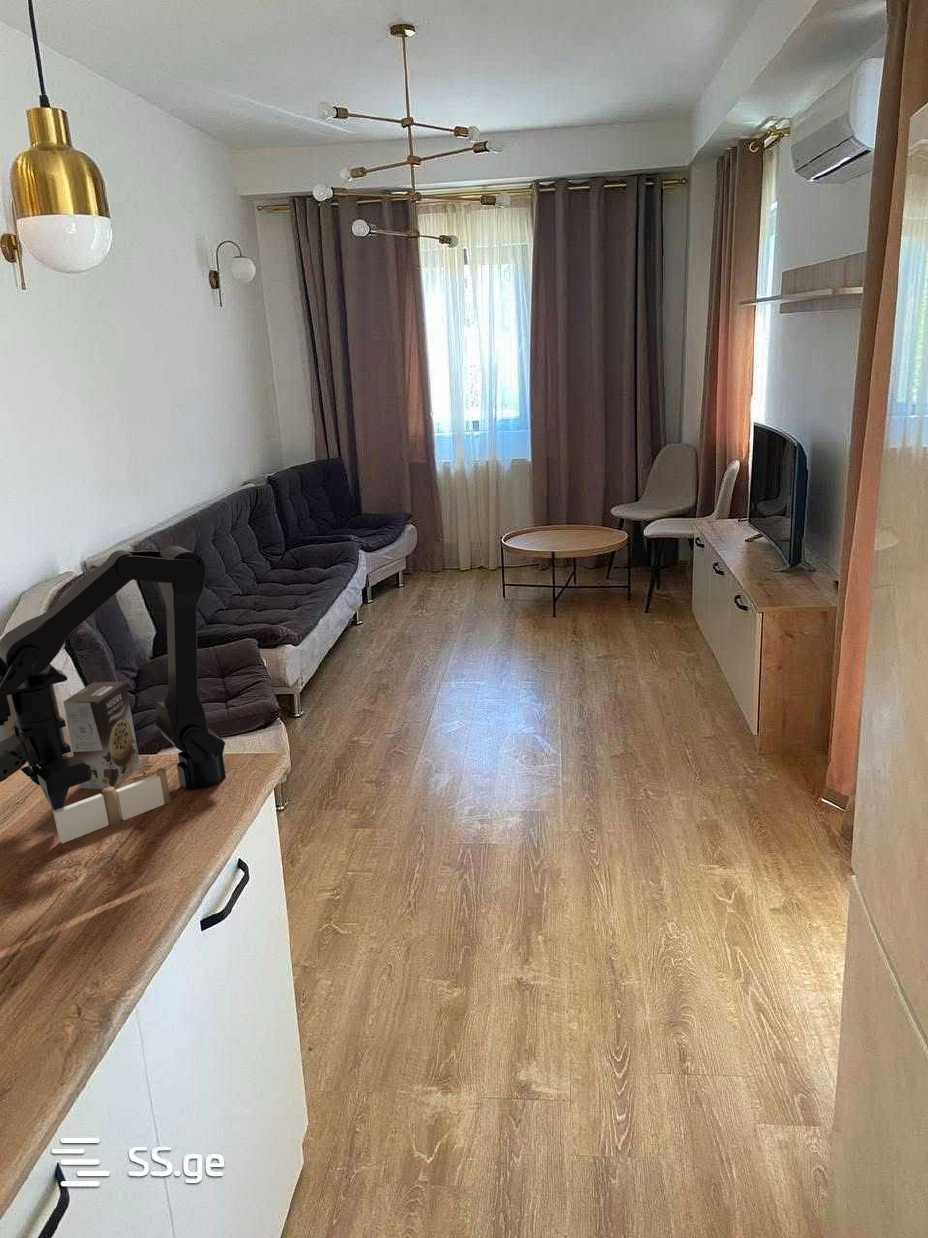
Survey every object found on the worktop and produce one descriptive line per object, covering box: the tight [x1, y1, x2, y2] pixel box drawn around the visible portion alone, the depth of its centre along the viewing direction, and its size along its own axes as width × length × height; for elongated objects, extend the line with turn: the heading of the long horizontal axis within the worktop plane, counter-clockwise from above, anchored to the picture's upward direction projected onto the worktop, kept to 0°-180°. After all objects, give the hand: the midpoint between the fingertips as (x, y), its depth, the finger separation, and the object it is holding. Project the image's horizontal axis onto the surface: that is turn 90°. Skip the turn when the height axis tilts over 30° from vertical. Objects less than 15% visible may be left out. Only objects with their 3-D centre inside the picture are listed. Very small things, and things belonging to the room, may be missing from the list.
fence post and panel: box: [101, 767, 172, 826], centre depth 141 cm, size 10×2×6 cm, turn 133°
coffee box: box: [62, 681, 141, 790], centre depth 152 cm, size 9×6×16 cm
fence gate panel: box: [52, 793, 110, 844], centre depth 136 cm, size 7×1×5 cm, turn 133°
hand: (57, 810), depth 137 cm, fingers closed
